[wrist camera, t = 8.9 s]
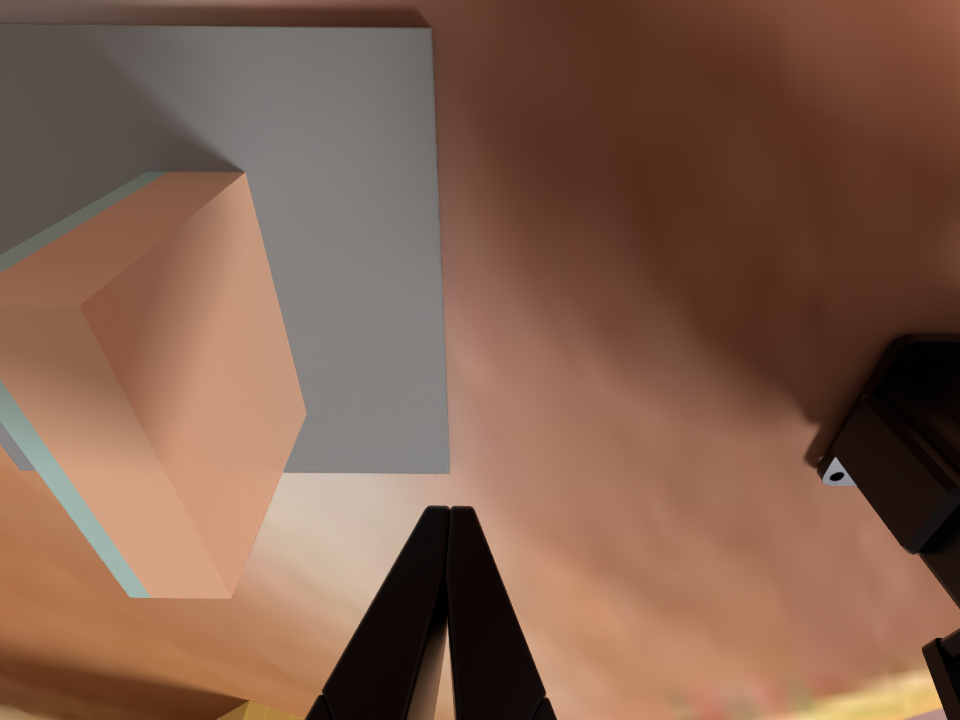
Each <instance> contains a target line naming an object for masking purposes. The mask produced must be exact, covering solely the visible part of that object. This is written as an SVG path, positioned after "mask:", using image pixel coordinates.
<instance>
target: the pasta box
mask: <svg viewBox="0 0 960 720" xmlns="http://www.w3.org/2000/svg"><path fill="white" fill-rule="evenodd" d="M217 720H305V718H302V717H299V716H296V715H293V714H290V713H287V712H284V711H280V710H277V709H274V708H271V707H268V706H265V705H262V704H259V703H256V702H253V701H250V700H249V701H248V702H246V703H244V704H243V705H241V706H239V707H237V708H236V709H234V710H232V711H230V712H229V713H227V714H225V715H224V716H222V717H220V718H218V719H217Z"/></svg>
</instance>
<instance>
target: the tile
mask: <svg viewBox="0 0 960 720" xmlns="http://www.w3.org/2000/svg"><path fill="white" fill-rule="evenodd" d="M306 414H307V412H306V408H305V404H304V401H303V397H302V393H301V389H300V385H299V381H298V377H297V373H296V369H295V365H294V361H293V357H292V353H291V349H290V346H289V342H288V338H287V334H286V330H285V326H284V322H283V318H282V314H281V310H280V306H279V302H278V298H277V294H276V291H275V287H274V283H273V279H272V275H271V271H270V267H269V263H268V259H267V255H266V251H265V247H264V243H263V239H262V236H261V232H260V228H259V224H258V220H257V216H256V212H255V208H254V204H253V200H252V196H251V192H250V188H249V184H248V181H247V177H246V173H245V172H166V171H148V172H146V173H144V174H143V175H141V176H139V177H137V178H135V179H134V180H132V181H130V182H128V183H127V184H125V185H123V186H121V187H120V188H118V189H116V190H114V191H113V192H111V193H109V194H107V195H105V196H104V197H102V198H100V199H98V200H97V201H95V202H93V203H91V204H90V205H88V206H86V207H84V208H83V209H81V210H79V211H77V212H76V213H74V214H72V215H70V216H68V217H67V218H65V219H63V220H61V221H60V222H58V223H56V224H54V225H53V226H51V227H49V228H47V229H46V230H44V231H42V232H40V233H38V234H37V235H35V236H33V237H31V238H30V239H28V240H26V241H24V242H23V243H21V244H19V245H17V246H16V247H14V248H12V249H10V250H8V251H7V252H5V253H3V254H1V255H0V422H1V423H2V424H3V426H4V427H5V428H6V430H7V431H8V433H9V434H10V435H11V437H12V438H13V439H14V441H15V442H16V443H17V445H18V446H19V447H20V449H21V450H22V452H23V453H24V454H25V456H26V457H27V458H28V460H29V461H30V462H31V464H32V465H33V466H34V468H35V469H36V471H37V472H38V473H39V475H40V476H41V477H42V479H43V480H44V481H45V483H46V484H47V486H48V487H49V488H50V490H51V491H52V492H53V494H54V495H55V496H56V498H57V499H58V500H59V502H60V503H61V505H62V506H63V507H64V509H65V510H66V511H67V513H68V514H69V515H70V517H71V518H72V519H73V521H74V522H75V524H76V525H77V526H78V528H79V529H80V530H81V532H82V533H83V534H84V536H85V537H86V538H87V540H88V541H89V543H90V544H91V545H92V547H93V548H94V549H95V551H96V552H97V553H98V555H99V556H100V557H101V559H102V560H103V562H104V563H105V564H106V566H107V567H108V568H109V570H110V571H111V572H112V574H113V575H114V577H115V578H116V579H117V581H118V582H119V583H120V585H121V586H122V587H123V589H124V590H125V591H126V593H127V594H128V596H129V597H130V598H227V599H231V598H232V595H233V593H234V591H235V588H236V586H237V583H238V581H239V578H240V576H241V573H242V571H243V569H244V566H245V564H246V561H247V559H248V556H249V554H250V551H251V549H252V546H253V544H254V542H255V539H256V537H257V534H258V532H259V529H260V527H261V524H262V522H263V520H264V517H265V515H266V512H267V510H268V507H269V505H270V502H271V500H272V497H273V495H274V493H275V490H276V488H277V485H278V483H279V480H280V478H281V475H282V473H283V471H284V468H285V466H286V463H287V461H288V458H289V456H290V453H291V451H292V448H293V446H294V444H295V441H296V439H297V436H298V434H299V431H300V429H301V426H302V424H303V422H304V419H305V417H306Z"/></svg>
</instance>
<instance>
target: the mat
mask: <svg viewBox="0 0 960 720" xmlns="http://www.w3.org/2000/svg"><path fill="white" fill-rule="evenodd" d="M148 171H166V172H245V173H246V177H247V181H248V184H249V188H250V192H251V196H252V200H253V204H254V208H255V212H256V216H257V220H258V224H259V228H260V232H261V236H262V239H263V243H264V247H265V251H266V255H267V259H268V263H269V267H270V271H271V275H272V279H273V283H274V287H275V291H276V294H277V298H278V302H279V306H280V310H281V314H282V318H283V322H284V326H285V330H286V334H287V338H288V342H289V346H290V349H291V353H292V357H293V361H294V365H295V369H296V373H297V377H298V381H299V385H300V389H301V393H302V397H303V401H304V404H305V408H306V412H307V414H306V417H305V419H304V422H303V424H302V426H301V429H300V431H299V434H298V436H297V439H296V441H295V444H294V446H293V448H292V451H291V453H290V456H289V458H288V461H287V463H286V466H285V468H284V471H283V473H399V474H449V471H450V457H449V432H448V408H447V384H446V360H445V336H444V311H443V287H442V263H441V239H440V215H439V190H438V166H437V142H436V118H435V93H434V69H433V45H432V27H326V26H199V25H72V24H0V255H1V254H3V253H5V252H7V251H8V250H10V249H12V248H14V247H16V246H17V245H19V244H21V243H23V242H24V241H26V240H28V239H30V238H31V237H33V236H35V235H37V234H38V233H40V232H42V231H44V230H46V229H47V228H49V227H51V226H53V225H54V224H56V223H58V222H60V221H61V220H63V219H65V218H67V217H68V216H70V215H72V214H74V213H76V212H77V211H79V210H81V209H83V208H84V207H86V206H88V205H90V204H91V203H93V202H95V201H97V200H98V199H100V198H102V197H104V196H105V195H107V194H109V193H111V192H113V191H114V190H116V189H118V188H120V187H121V186H123V185H125V184H127V183H128V182H130V181H132V180H134V179H135V178H137V177H139V176H141V175H143V174H144V173H146V172H148ZM0 444H1V446H2V447H3V448H4V449H5V451H6V452H7V453H8V455H9V456H10V457H11V459H12V460H13V461H14V463H15V464H16V465H17V466H18V468H19V469H20V470H30V471H36V469H35V468H34V466H33V465H32V464H31V462H30V461H29V460H28V458H27V457H26V456H25V454H24V453H23V452H22V450H21V449H20V447H19V446H18V445H17V443H16V442H15V441H14V439H13V438H12V437H11V435H10V434H9V433H8V431H7V430H6V428H5V427H4V426H3V424H2V423H1V422H0Z"/></svg>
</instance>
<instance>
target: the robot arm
mask: <svg viewBox="0 0 960 720" xmlns="http://www.w3.org/2000/svg"><path fill="white" fill-rule="evenodd" d="M907 351H908V352H907ZM817 473H818V475H819V477H820V478H821V480H822V481H823V483H824V484H826V485H830V486H857V487H858V488H859V489H860V491H861V492H862V494H863V495H864V496H865V498H866V499H867V500H868V502H869V503H870V504H871V506H872V507H873V508H874V510H875V511H876V512H877V514H878V515H879V516H880V518H881V519H882V521H883V522H884V523H885V525H886V526H887V527H888V529H889V530H890V531H891V533H892V534H893V535H894V537H895V538H896V539H897V541H898V542H899V543H900V545H901V546H902V547H903V548H904V550H905V551H907V552H908V553H909V554H913V555H919V556H920V557H921V559H922V560H923V561H924V563H925V564H926V565H927V567H928V568H929V569H930V570H931V572H932V573H933V574H934V576H935V577H936V578H937V580H938V581H939V582H940V584H941V585H942V586H943V588H944V589H945V590H946V592H947V593H948V594H949V596H950V597H951V598H952V599H953V601H954V602H955V603H956V605H957V606H958V607H959V609H960V334H909V335H904V336H901V337H899V338H897V339H896V340H894V341H893V342H892V343H891V344H890V345H889V346H888V348H887V349H886V351H885V353H884V355H883V356H882V358H881V360H880V362H879V363H878V365H877V367H876V368H875V370H874V372H873V374H872V375H871V377H870V379H869V381H868V382H867V384H866V386H865V388H864V389H863V391H862V393H861V394H860V396H859V398H858V400H857V401H856V403H855V405H854V407H853V408H852V410H851V412H850V413H849V415H848V417H847V419H846V420H845V422H844V424H843V426H842V427H841V429H840V431H839V432H838V434H837V436H836V438H835V439H834V441H833V443H832V445H831V446H830V448H829V450H828V451H827V453H826V455H825V457H824V458H823V460H822V462H821V464H820V465H819V467H818V469H817ZM447 627H448V635H449V651H450V664H451V678H452V691H453V705H454V718H455V720H557V718H556V716H555V713H554V711H553V708H552V705H551V703H550V700H549V699H548V698H547V697H546V691H545V688H544V686H543V683H542V681H541V678H540V676H539V673H538V670H537V668H536V665H535V663H534V660H533V658H532V655H531V653H530V650H529V647H528V645H527V642H526V640H525V637H524V635H523V632H522V630H521V627H520V625H519V622H518V619H517V617H516V614H515V612H514V609H513V607H512V604H511V602H510V599H509V596H508V594H507V591H506V589H505V586H504V584H503V581H502V579H501V576H500V573H499V571H498V568H497V566H496V563H495V561H494V558H493V556H492V553H491V551H490V548H489V545H488V543H487V540H486V538H485V535H484V533H483V530H482V528H481V525H480V522H479V520H478V517H477V515H476V512H475V510H474V508H473V507H471V506H453V507H451V509H450V508H449V507H448V506H428V507H427V508H426V509H425V510H424V512H423V514H422V515H421V517H420V519H419V521H418V522H417V524H416V526H415V528H414V529H413V531H412V533H411V535H410V536H409V538H408V540H407V542H406V543H405V545H404V547H403V549H402V550H401V552H400V554H399V556H398V557H397V559H396V561H395V563H394V564H393V566H392V568H391V570H390V571H389V573H388V575H387V577H386V578H385V580H384V582H383V584H382V585H381V587H380V589H379V591H378V592H377V594H376V596H375V598H374V599H373V601H372V603H371V605H370V606H369V608H368V610H367V612H366V613H365V615H364V617H363V619H362V620H361V622H360V624H359V626H358V627H357V629H356V631H355V633H354V634H353V636H352V638H351V640H350V641H349V643H348V645H347V647H346V648H345V650H344V652H343V654H342V655H341V657H340V659H339V661H338V662H337V664H336V666H335V668H334V669H333V671H332V673H331V675H330V676H329V678H328V680H327V682H326V683H325V685H324V687H323V689H322V693H323V695H319V696H318V697H317V699H316V700H315V702H314V704H313V706H312V707H311V709H310V711H309V713H308V714H307V716H306V718H305V720H434V715H435V708H436V702H437V695H438V689H439V683H440V676H441V670H442V663H443V657H444V650H445V644H446V636H447ZM922 652H923V655H924V657H925V660H926V663H927V666H928V668H929V671H930V674H931V676H932V679H933V682H934V684H935V687H936V690H937V693H938V695H939V698H940V701H941V703H942V706H943V709H944V711H945V714H946V717H947V719H948V720H960V628H959V629H958V630H956V631H955V632H953V633H951V634H950V635H948V636H947V637H945V638H936V639H934V640H932V641H931V642H929V643H928V644H926V645H924V646H923V647H922Z"/></svg>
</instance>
